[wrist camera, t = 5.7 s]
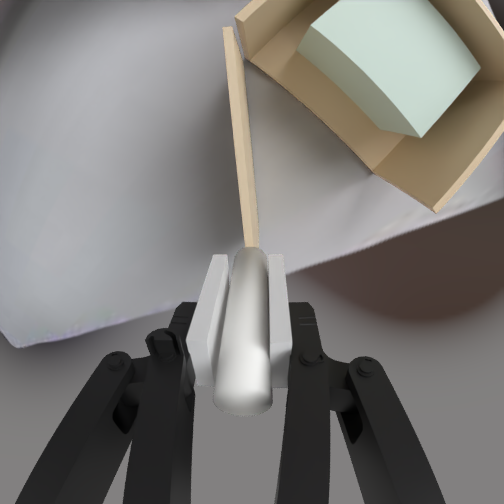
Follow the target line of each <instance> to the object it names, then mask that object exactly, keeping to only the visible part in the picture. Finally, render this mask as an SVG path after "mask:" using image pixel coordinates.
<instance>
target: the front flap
mask: <svg viewBox="0 0 504 504" xmlns="http://www.w3.org/2000/svg"><path fill="white" fill-rule="evenodd" d="M223 37H224V48H225V58H226V68H227V78H228V88H229V98H230V108H231V118H232V128H233V137H234V147H235V156H236V166H237V175H238V185H239V194H240V203H241V213H242V222H243V231H244V240H245V248H242V249H240V250H239V251H238V252H237V253H236V255H235V258H234V264H233V270H232V276H231V282H230V289H229V295H228V301H227V308H226V314H225V320H224V327H223V334H222V340H221V347H220V353H219V360H218V367H217V374H216V381H215V388H214V395H213V402H214V404H215V406H216V407H217V408H219V409H220V410H221V411H223V412H226V413H228V414H231V415H237V416H253V415H258V414H261V413H264V412H265V411H267V410H268V409H269V408H270V407H271V406H272V401H273V400H272V367H271V364H270V344H269V288H268V266H267V257H266V255H265V253H264V252H263V251H262V250H260V249H259V224H258V212H257V201H256V190H255V178H254V167H253V156H252V145H251V135H250V124H249V113H248V103H247V93H246V83H245V72H244V63H243V60H242V57H241V53H240V50H239V47H238V44H237V40H236V37H235V34H234V31H233V28H232V26H230V27H223Z"/></svg>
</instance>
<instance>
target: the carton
mask: <svg viewBox="0 0 504 504" xmlns="http://www.w3.org/2000/svg"><path fill="white" fill-rule="evenodd" d="M235 21H236V25H237V28H238V32H239V36H240V40H241V44H242V48H243V52H244V56H245V58H246V59H247V60H248V61H250V62H251V63H253V64H254V65H255V66H257V67H258V68H259V69H261V70H262V71H263V72H265V73H266V74H267V75H269V76H270V77H271V78H272V79H274V80H275V81H276V82H277V83H279V84H280V85H281V86H282V87H284V88H285V89H286V90H287V91H289V92H290V93H291V94H292V95H293V96H294V97H296V98H297V99H298V100H299V101H300V102H302V103H303V104H304V105H305V106H306V107H307V108H308V109H309V110H311V111H312V112H313V113H314V114H315V115H316V116H317V117H318V118H319V119H320V120H322V121H323V122H324V123H325V124H326V125H327V126H328V127H329V128H330V129H331V130H332V131H333V132H334V133H335V134H336V135H337V136H338V137H339V138H340V139H341V140H342V141H343V142H344V143H345V144H346V145H347V146H348V147H349V148H350V149H351V150H352V151H353V152H354V153H355V154H356V155H357V156H358V157H359V158H360V159H361V160H362V161H363V162H364V164H365V165H366V166H367V167H368V168H369V169H370V170H371V171H372V172H373V173H374V174H375V175H377V176H379V177H380V178H382V179H384V180H385V181H387V182H389V183H390V184H392V185H393V186H395V187H397V188H398V189H400V190H401V191H403V192H405V193H406V194H408V195H409V196H411V197H412V198H414V199H415V200H417V201H418V202H420V203H421V204H423V205H424V206H426V207H427V208H429V209H430V210H431V211H433V212H434V213H436V214H437V213H438V212H439V211H440V210H441V208H442V207H443V206H444V205H445V204H446V203H447V202H448V201H449V199H450V198H451V197H452V196H453V195H454V194H455V193H456V191H457V190H458V189H459V188H460V187H461V186H462V184H463V183H464V182H465V181H466V180H467V178H468V177H469V176H470V175H471V173H472V172H473V171H474V170H475V168H476V167H477V166H478V165H479V163H480V162H481V161H482V160H483V158H484V157H485V156H486V154H487V153H488V152H489V150H490V149H491V148H492V146H493V145H494V144H495V142H496V141H497V140H498V138H499V137H500V135H501V134H502V132H503V131H504V31H503V30H502V28H501V27H500V25H499V24H498V22H497V21H496V19H495V18H494V17H493V15H492V14H491V12H490V11H489V10H488V8H487V7H486V6H485V5H484V3H483V2H482V1H481V0H252V1H251V2H250V3H249V4H247V5H246V6H245V7H244V8H243V9H242V10H241V11H240V12H239V13H238V14H237V15H236V16H235Z"/></svg>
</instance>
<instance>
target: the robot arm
mask: <svg viewBox="0 0 504 504" xmlns="http://www.w3.org/2000/svg"><path fill="white" fill-rule="evenodd" d="M268 288H269V344H270V364H271V367H272V388H287V387H288V394H287V402H286V414H285V424H284V434H283V442H282V451H281V460H280V467H279V475H278V483H277V490H276V497H275V503H274V504H328V503H329V482H330V480H329V479H330V410H332V411H335V412H336V414H337V417H338V421H339V423H340V427H341V430H342V433H343V435H344V439H345V442H346V445H347V448H348V451H349V454H350V458H351V461H352V464H353V467H354V470H355V474H356V477H357V480H358V483H359V487H360V490H361V493H362V496H363V500H364V503H365V504H446V503H445V501H444V498H443V495H442V493H441V490H440V488H439V485H438V483H437V481H436V478H435V476H434V473H433V471H432V469H431V466H430V464H429V462H428V459H427V457H426V455H425V453H424V450H423V448H422V446H421V444H420V442H419V440H418V437H417V435H416V433H415V431H414V429H413V427H412V425H411V422H410V421H409V418H408V416H407V414H406V412H405V410H404V408H403V406H402V404H401V402H400V400H399V398H398V397H397V394H396V392H395V390H394V388H393V386H392V384H391V382H390V380H389V379H388V377H387V375H386V373H385V371H384V369H383V367H382V366H381V364H380V363H379V362H378V361H377V360H375V359H373V358H371V357H366V356H365V357H358V358H355V359H354V360H353V361H351V362H350V363H343V362H339V361H335V360H333V359H331V358H329V357H328V356H327V355H326V354H325V353H324V352H323V349H322V346H321V341H320V336H319V331H318V326H317V322H316V318H315V313H314V309H313V308H312V306H311V305H310V304H309V303H308V302H297V303H296V302H292V303H288V296H287V287H286V279H285V270H284V261H283V254H268ZM229 289H230V285H229V272H228V258H227V255H213V257H212V260H211V263H210V266H209V269H208V272H207V275H206V278H205V281H204V284H203V287H202V290H201V293H200V297H199V300H198V302H182V303H181V304H180V305H179V306H178V307H177V308H176V310H175V312H174V315H173V318H172V320H171V324H170V325H169V327H168V328H162V329H157V330H155V331H152V332H151V333H150V334H149V335H148V336H147V338H146V339H145V341H146V344H147V347H148V350H149V352H150V356H147V357H143V358H136V359H131V357H130V356H129V355H128V354H127V353H125V352H120V351H116V352H112V353H110V354H108V355H106V356H105V357H104V358H103V359H102V361H101V362H100V364H99V365H98V367H97V368H96V370H95V371H94V373H93V374H92V375H91V377H90V378H89V380H88V381H87V383H86V384H85V386H84V387H83V389H82V390H81V392H80V393H79V395H78V396H77V398H76V399H75V401H74V402H73V404H72V405H71V407H70V409H69V410H68V412H67V413H66V415H65V417H64V418H63V420H62V421H61V423H60V425H59V426H58V428H57V429H56V431H55V433H54V434H53V436H52V438H51V439H50V441H49V443H48V444H47V446H46V448H45V449H44V451H43V453H42V455H41V456H40V458H39V460H38V461H37V463H36V465H35V467H34V469H33V471H32V472H31V474H30V476H29V478H28V480H27V482H26V483H25V485H24V487H23V489H22V491H21V493H20V495H19V497H18V499H17V501H16V503H15V504H102V503H103V501H104V499H105V497H106V495H107V492H108V490H109V488H110V486H111V484H112V481H113V479H114V477H115V475H116V473H117V471H118V468H119V466H120V464H121V462H122V460H123V457H124V456H125V453H126V451H127V449H128V447H129V445H130V443H131V441H132V444H131V451H130V456H129V462H128V468H127V475H126V482H125V489H124V497H123V504H191V466H192V441H193V422H194V406H195V391H194V388H193V387H194V382H195V379H196V382H197V385H201V386H213V387H215V381H216V374H217V367H218V360H219V353H220V347H221V340H222V334H223V327H224V320H225V314H226V308H227V301H228V295H229Z"/></svg>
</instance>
